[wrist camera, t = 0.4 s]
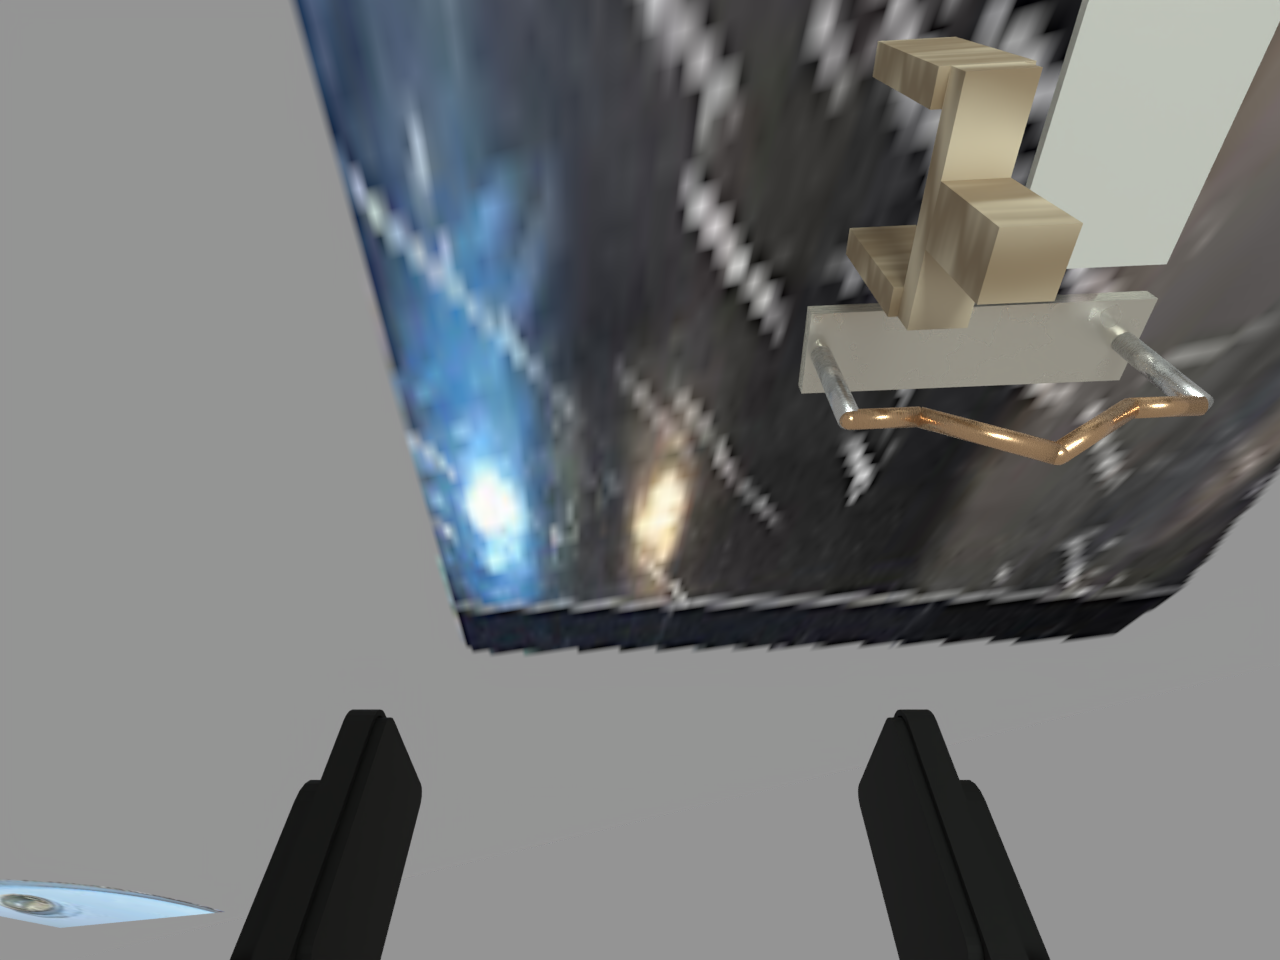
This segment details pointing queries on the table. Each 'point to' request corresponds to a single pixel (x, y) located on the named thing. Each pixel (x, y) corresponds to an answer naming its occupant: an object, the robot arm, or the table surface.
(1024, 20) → the table surface
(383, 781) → the robot arm
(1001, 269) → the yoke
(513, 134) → the table surface
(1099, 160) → the pad
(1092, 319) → the wire
